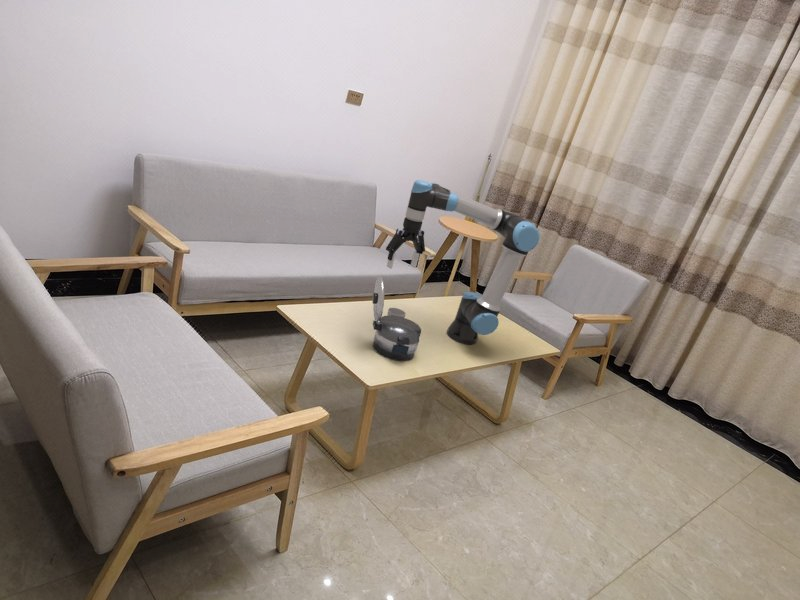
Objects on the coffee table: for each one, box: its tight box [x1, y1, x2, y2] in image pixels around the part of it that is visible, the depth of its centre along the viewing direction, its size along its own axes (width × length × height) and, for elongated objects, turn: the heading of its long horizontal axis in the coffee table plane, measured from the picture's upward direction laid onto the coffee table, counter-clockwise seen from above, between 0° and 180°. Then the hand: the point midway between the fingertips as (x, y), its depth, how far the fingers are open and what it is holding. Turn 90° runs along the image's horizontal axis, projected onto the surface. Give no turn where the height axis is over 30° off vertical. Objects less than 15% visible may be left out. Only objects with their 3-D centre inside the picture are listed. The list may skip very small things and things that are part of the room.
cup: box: [386, 307, 407, 318], centre depth 246 cm, size 8×8×10 cm
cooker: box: [372, 315, 422, 362], centre depth 228 cm, size 20×23×12 cm
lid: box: [372, 276, 385, 326], centre depth 220 cm, size 20×18×4 cm
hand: (401, 267), depth 228 cm, fingers open, 13 cm apart
